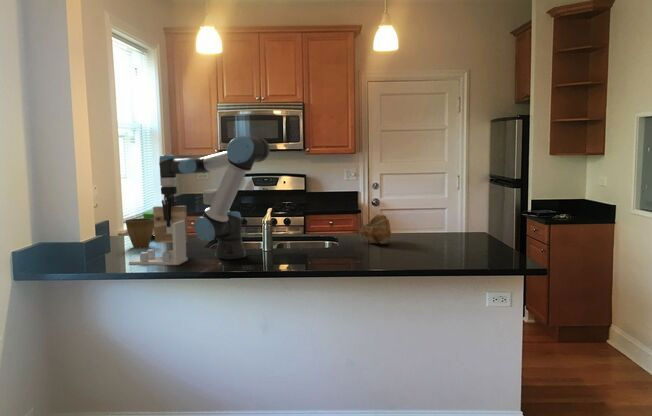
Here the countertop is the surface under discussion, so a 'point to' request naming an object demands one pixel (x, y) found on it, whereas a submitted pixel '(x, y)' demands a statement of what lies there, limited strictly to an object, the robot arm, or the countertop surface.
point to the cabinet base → (176, 248)
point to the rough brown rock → (377, 230)
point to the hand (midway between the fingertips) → (171, 232)
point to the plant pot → (140, 231)
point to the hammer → (209, 196)
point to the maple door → (160, 225)
